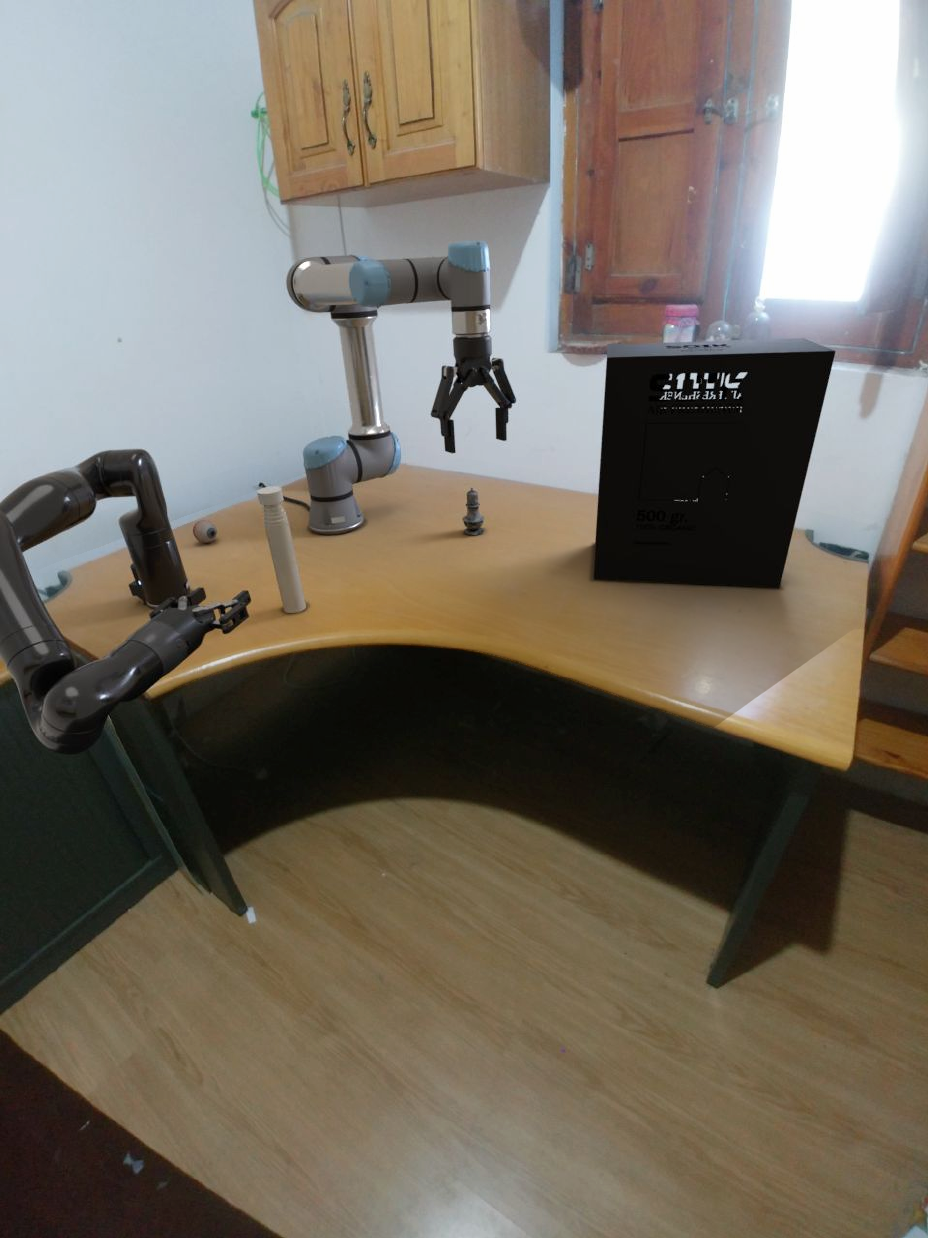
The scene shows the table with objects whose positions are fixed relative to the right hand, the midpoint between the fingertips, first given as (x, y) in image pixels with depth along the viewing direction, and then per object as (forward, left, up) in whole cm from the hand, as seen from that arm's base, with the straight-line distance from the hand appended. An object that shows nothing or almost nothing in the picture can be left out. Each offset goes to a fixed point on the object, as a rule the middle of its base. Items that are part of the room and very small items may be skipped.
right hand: (476, 445), depth 127 cm
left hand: (+5, -58, -13) cm, 60 cm away
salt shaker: (-18, +12, -28) cm, 35 cm away
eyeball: (-62, -45, -28) cm, 82 cm away
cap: (-10, -42, -2) cm, 43 cm away
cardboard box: (+30, +34, -28) cm, 53 cm away
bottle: (-10, -42, -28) cm, 52 cm away
